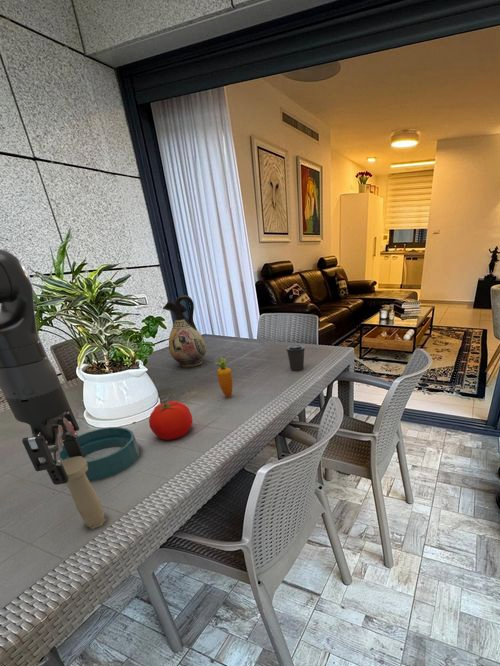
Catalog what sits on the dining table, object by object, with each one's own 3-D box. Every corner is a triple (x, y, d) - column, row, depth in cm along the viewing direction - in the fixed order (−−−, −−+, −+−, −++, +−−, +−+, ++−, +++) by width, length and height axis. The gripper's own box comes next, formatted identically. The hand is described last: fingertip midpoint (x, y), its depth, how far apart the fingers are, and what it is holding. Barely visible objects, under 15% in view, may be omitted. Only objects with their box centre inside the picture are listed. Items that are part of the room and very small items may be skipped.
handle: (110, 511, 75) (85, 453, 68) (111, 531, 70) (84, 470, 63) (85, 520, 74) (56, 461, 66) (83, 540, 69) (52, 479, 61)
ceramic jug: (171, 372, 152) (153, 299, 137) (175, 361, 165) (159, 293, 150) (211, 367, 155) (198, 296, 140) (212, 357, 168) (200, 291, 154)
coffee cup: (299, 373, 145) (297, 349, 140) (283, 370, 149) (281, 347, 144) (310, 367, 151) (309, 344, 146) (294, 364, 155) (293, 342, 150)
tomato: (176, 422, 111) (168, 392, 105) (203, 430, 106) (197, 399, 101) (144, 440, 101) (134, 408, 96) (172, 449, 97) (163, 416, 92)
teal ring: (55, 490, 83) (45, 469, 80) (77, 452, 97) (69, 433, 94) (134, 475, 87) (127, 455, 84) (144, 441, 101) (138, 422, 98)
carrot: (232, 402, 123) (225, 360, 115) (219, 401, 123) (211, 360, 116) (238, 396, 127) (231, 356, 120) (225, 395, 128) (217, 355, 120)
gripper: (24, 375, 62) (59, 452, 70) (-19, 409, 50) (30, 497, 58) (72, 370, 64) (101, 446, 72) (42, 401, 52) (81, 488, 60)
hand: (69, 469), depth 65 cm, fingers open, 8 cm apart
